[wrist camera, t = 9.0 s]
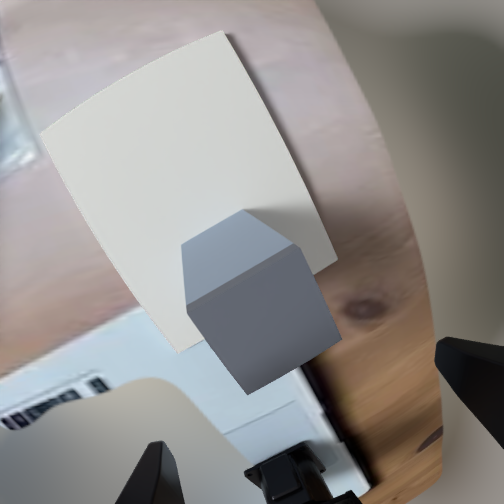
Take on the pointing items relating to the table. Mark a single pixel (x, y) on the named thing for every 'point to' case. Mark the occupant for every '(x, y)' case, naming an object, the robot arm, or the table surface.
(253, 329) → the block
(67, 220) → the table surface
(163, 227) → the mat
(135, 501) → the robot arm
